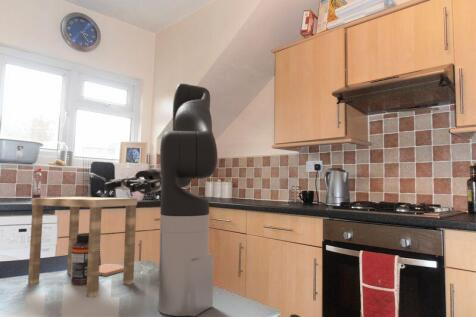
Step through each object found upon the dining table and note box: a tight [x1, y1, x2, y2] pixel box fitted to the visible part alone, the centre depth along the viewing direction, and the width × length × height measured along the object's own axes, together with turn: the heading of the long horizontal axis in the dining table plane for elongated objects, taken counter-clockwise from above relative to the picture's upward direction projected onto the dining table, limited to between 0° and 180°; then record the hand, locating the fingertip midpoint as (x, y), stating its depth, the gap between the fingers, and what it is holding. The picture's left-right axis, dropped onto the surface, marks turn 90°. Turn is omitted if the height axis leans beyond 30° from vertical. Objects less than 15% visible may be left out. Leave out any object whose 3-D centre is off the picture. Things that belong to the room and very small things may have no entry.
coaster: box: [99, 263, 124, 277], centre depth 90 cm, size 8×8×1 cm
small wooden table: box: [27, 196, 138, 298], centre depth 79 cm, size 22×12×20 cm, turn 63°
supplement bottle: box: [70, 232, 89, 286], centre depth 79 cm, size 6×6×11 cm
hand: (117, 187), depth 91 cm, fingers open, 8 cm apart
